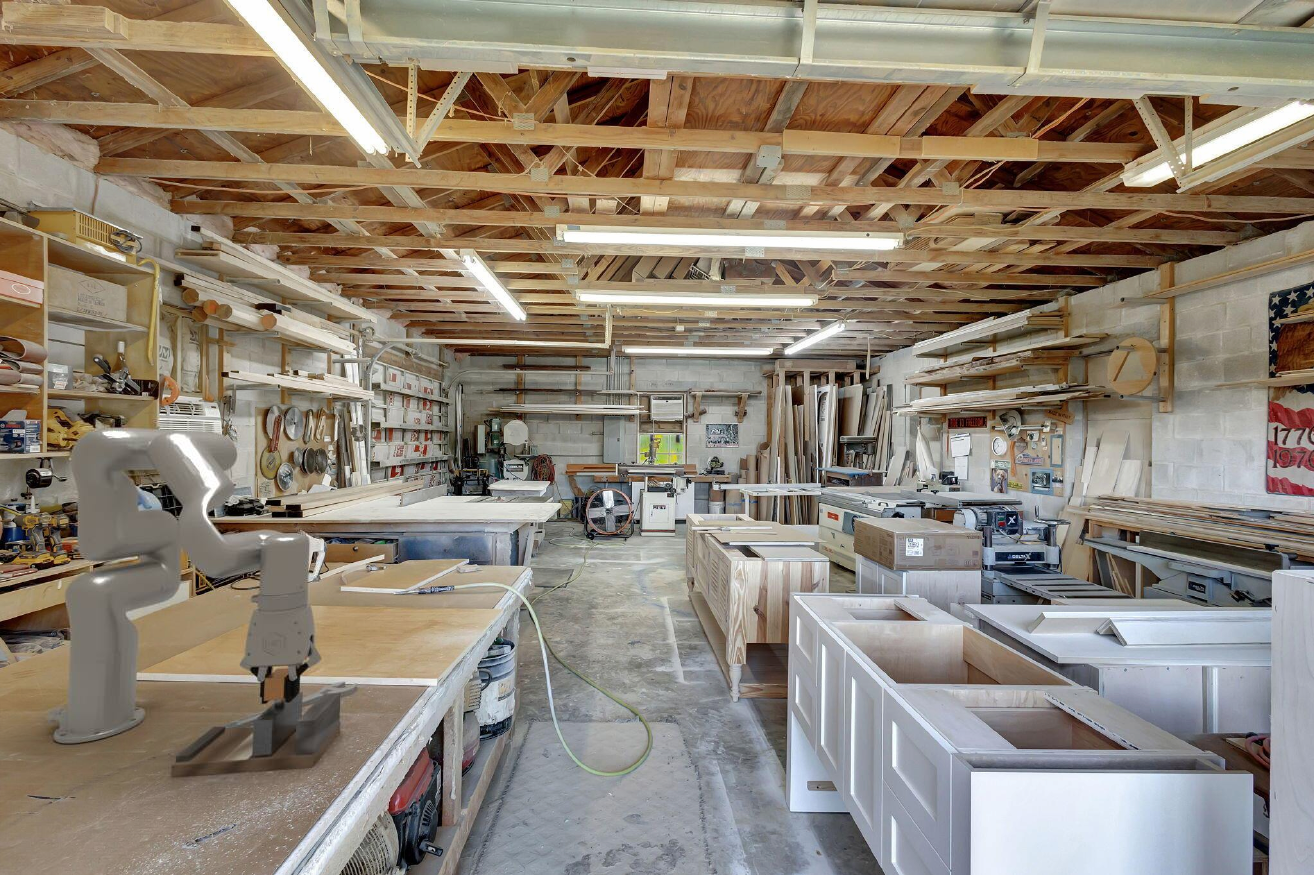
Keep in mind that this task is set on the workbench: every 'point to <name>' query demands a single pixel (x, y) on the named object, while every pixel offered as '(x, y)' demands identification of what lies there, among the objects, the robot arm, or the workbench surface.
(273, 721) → the sliding jaw
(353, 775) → the workbench surface
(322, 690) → the adjustable wrench
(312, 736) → the bench vise
